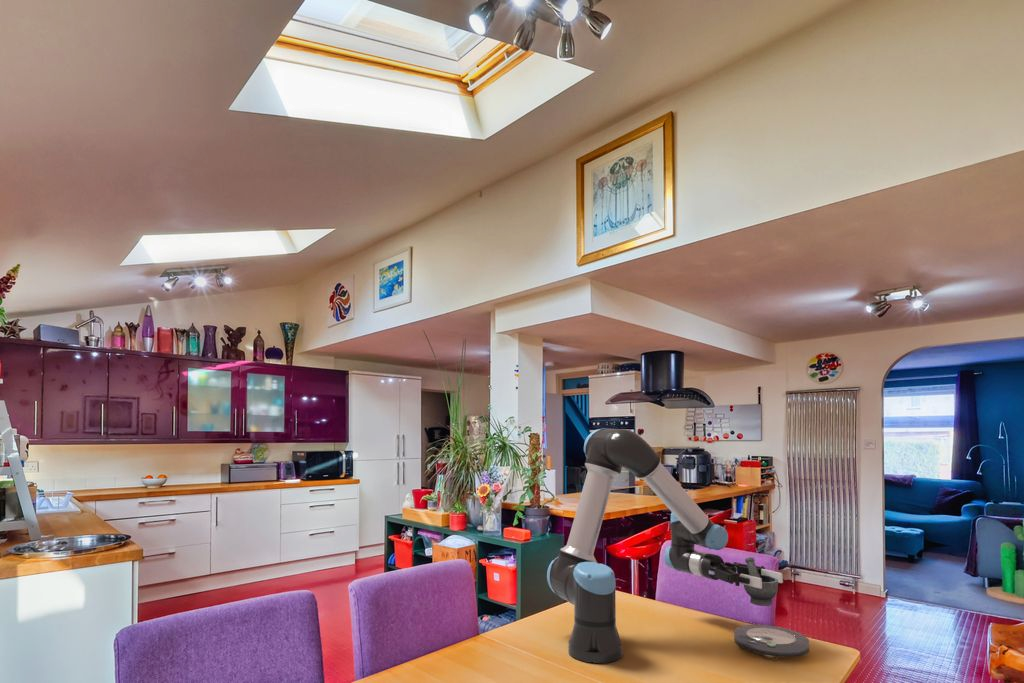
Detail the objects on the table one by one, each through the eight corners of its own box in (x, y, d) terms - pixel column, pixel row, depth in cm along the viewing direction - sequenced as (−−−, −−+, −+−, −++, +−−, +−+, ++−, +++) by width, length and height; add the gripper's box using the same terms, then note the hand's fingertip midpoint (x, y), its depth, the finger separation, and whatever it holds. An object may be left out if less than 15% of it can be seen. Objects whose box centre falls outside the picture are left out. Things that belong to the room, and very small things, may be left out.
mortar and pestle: (786, 607, 173) (784, 563, 174) (757, 609, 171) (755, 565, 172) (762, 595, 183) (760, 555, 185) (734, 597, 182) (733, 556, 183)
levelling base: (783, 668, 160) (782, 650, 160) (719, 645, 176) (719, 628, 177) (824, 653, 170) (823, 636, 171) (761, 632, 187) (760, 617, 188)
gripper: (729, 572, 198) (793, 588, 180) (684, 582, 186) (749, 600, 167) (728, 549, 199) (792, 562, 181) (683, 557, 187) (747, 572, 168)
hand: (771, 580), depth 174 cm, fingers closed on mortar and pestle, 10 cm apart
